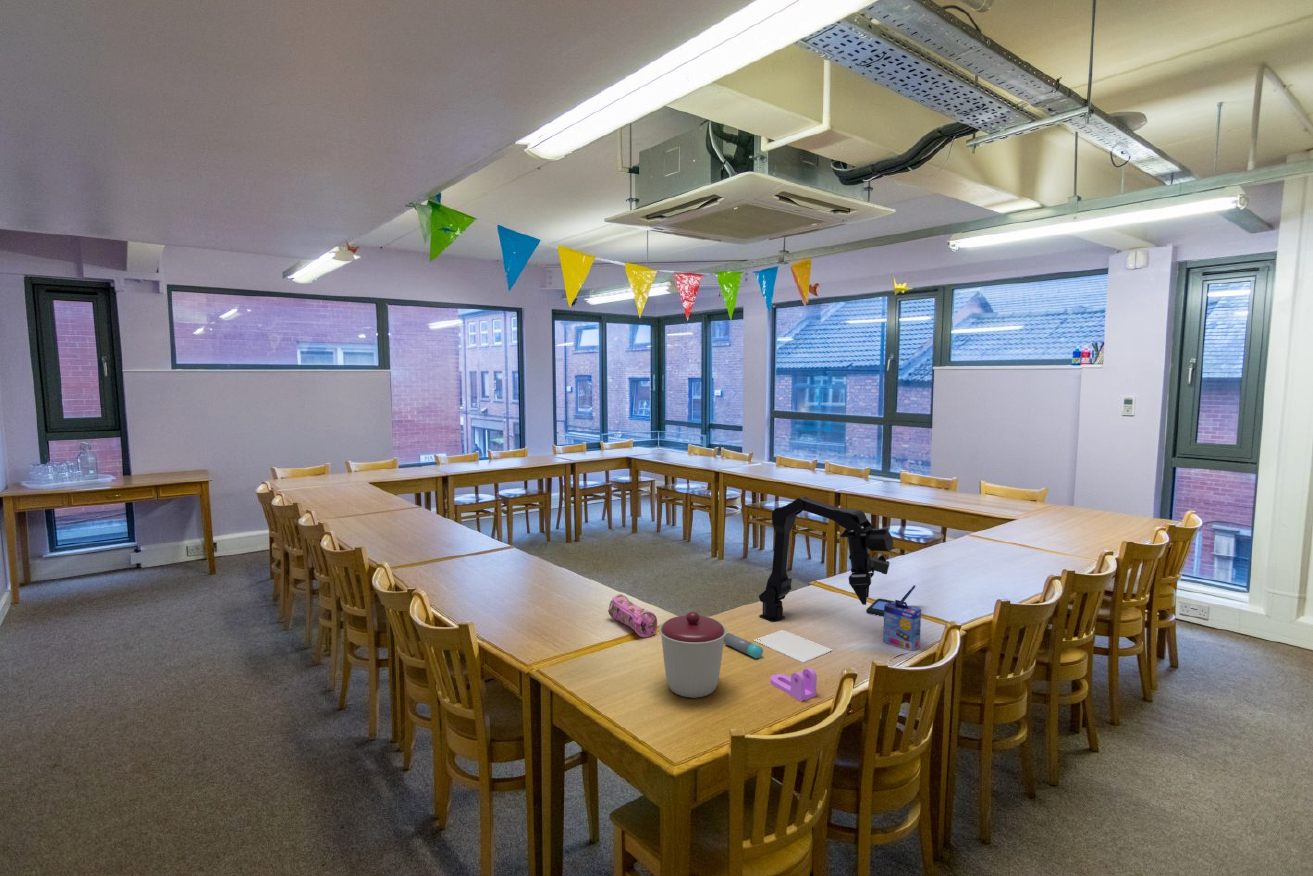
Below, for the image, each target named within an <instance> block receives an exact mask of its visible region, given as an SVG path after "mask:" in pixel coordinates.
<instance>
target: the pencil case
mask: <svg viewBox="0 0 1313 876" xmlns="http://www.w3.org/2000/svg"><path fill="white" fill-rule="evenodd" d="M608 615H609V616H610V617H611V618H612V619H614V620H616V621H617V622H619V623H621V624H624V625H625V626H627V627H629V628H630V629H632V630H633V631H634V632H635V634H637V635H638V636H639V637H641V638H649V637H652V636H653V635H654V634H655V633H656V632H657V629H658V618H657V616H656V614H655V613H654V612H652V611H650V610H648V609H647V610H646V609H645V608H643V607H641V606H639V605H637V604H635V603H633V602H632V601H630V599H629V598H628V597H627V596H626V595H624V594H617V595H614V597H612V600H610V602H609V606H608Z"/></svg>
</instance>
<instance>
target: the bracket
mask: <svg viewBox="0 0 1313 876" xmlns="http://www.w3.org/2000/svg"><path fill="white" fill-rule="evenodd" d="M817 679H818V678H817V673H816V671H815V670H814V669H813V668H812V667H807V668H804V669H803V670H802V672H801V671H796V672H793V673H792V674H791V675H790V676H788V675H786V674H782V673H781V674H780V673H778V674H777V673H776V674H773V675H771V676H770V684H771V685H772V686H773V687H774V688H776V689H778V688H779V689H778V690H780V689H781V690H782V692H783V691H784V693H785V692H786V693H785V694H787V695H788V694H789V696H790V697H792V698H793V697H794V699H795V698H796V699H795V700H797V701H799V700H800V701H802V702H804V701H803V700H805V701H807V700H809V699H812V697H813V698H815V697H817V686H818V685H817V682H818V681H817ZM785 683H786V684H785ZM781 690H780V691H781ZM814 696H815V697H814ZM800 701H799V702H800Z"/></svg>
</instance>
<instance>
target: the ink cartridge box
mask: <svg viewBox="0 0 1313 876" xmlns="http://www.w3.org/2000/svg"><path fill="white" fill-rule="evenodd" d="M894 601H895V602H890V603H888V604H886V605H885V606H884V617H883V635H882V642H883V643H885V644H889V645H892V646H895V647H898V648H900V649H901V648H902V649H904V650H907V651H911V652H913V651H915V650H917V649H918V648H920V646H921V625H922V624H921V620H922V619H921V618H922V609H920V608H919V607H914V606H910V605H908V603H907V602H906V601H904V602H903V601H901V600H898V599H895V600H894ZM898 602H900V603H903V604H900V603H898Z"/></svg>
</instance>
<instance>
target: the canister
mask: <svg viewBox="0 0 1313 876" xmlns="http://www.w3.org/2000/svg"><path fill="white" fill-rule="evenodd" d="M658 633H659V634H660V636H661V644H662V653H663V656H662V657H663V666H664V672H665V680H666V683H667V686H668V688H669V689H670V690H671V691H672V692H673V693H675V694H676V695H679V696H680V697H685V698H689V697H690V698H703V697H706V696H708V695H711V694H712V693H713V692H714V691H715V690H716V689H717V686H718V683H719V679H720V673H721V668H722V667H721V665H722V658H723V651H724V644H725V643H724V637H725V636H726V634H727V633H728V629H727V627H726V625H724V624H723V623H722V622H720V621H718V620H716V619H714V618H711V617H709V616H705V615H700V614H699V613H698V612H696V611H689V612H687V613H686V615H684V614H683V615H677V616H674V617H672V618H669V619H667V620H665V621H664V622H662V623H661V624H660V625H659V627H658Z"/></svg>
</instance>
